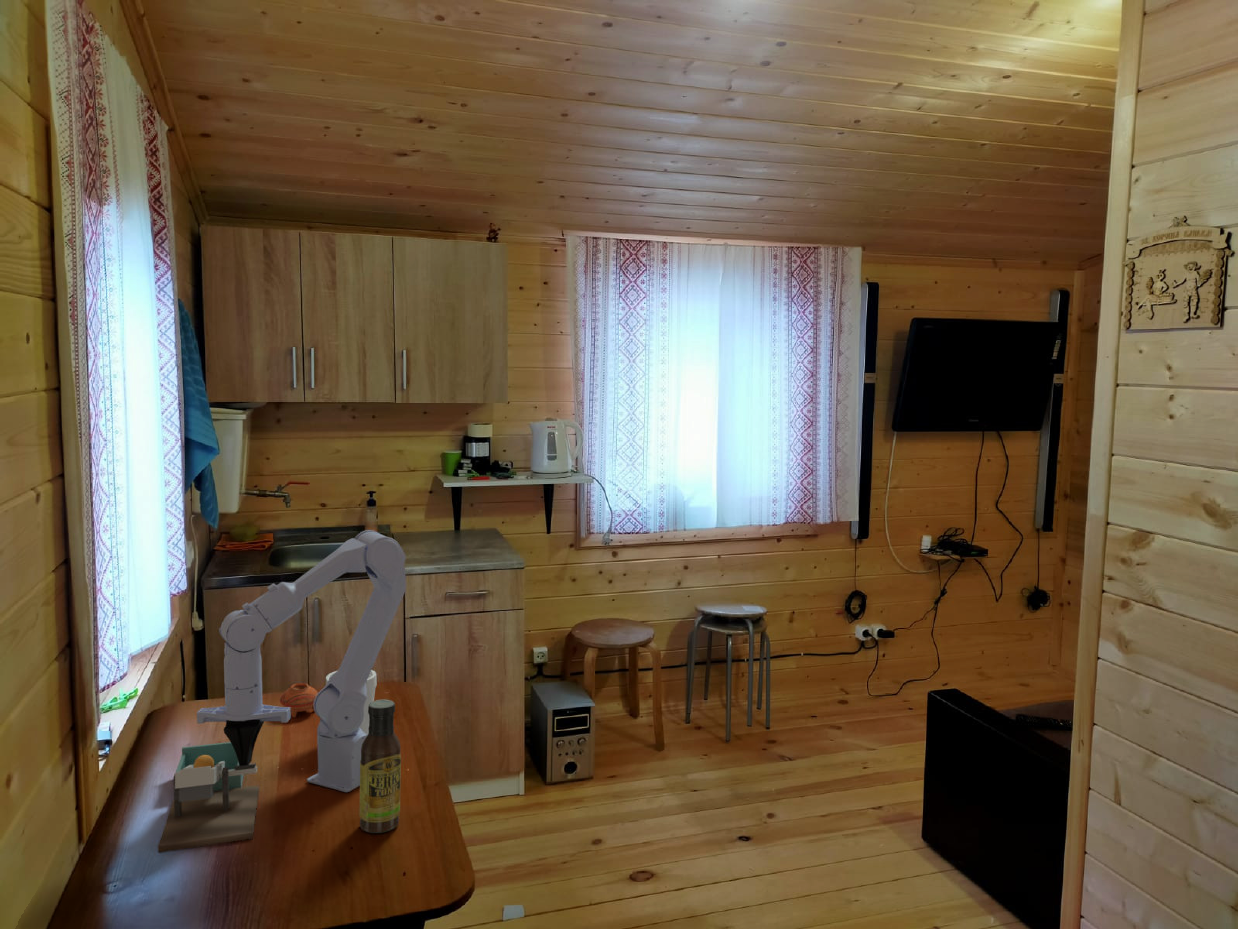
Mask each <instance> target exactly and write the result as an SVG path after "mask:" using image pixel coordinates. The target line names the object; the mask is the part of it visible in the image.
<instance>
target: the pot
mask: <svg viewBox="0 0 1238 929" xmlns="http://www.w3.org/2000/svg"><path fill="white" fill-rule="evenodd" d="M318 693H319V692H318V690H316V689H315V688H314V687H313V686H310V685H309V684H308V683H306V682H299V683H295V684H292V685H290V687H288V688H287V689H286V690H285V691H284V692H283V693H282V695H281V696H280V698H279V703H280V704H281V705H282V707H290V712H291V718H296V717H297V714H298V713H301V712H305V711H308V710H310V709H312V712H313V711H314V700H315V697H316V696H317V694H318ZM313 713H315V711H314V712H313Z"/></svg>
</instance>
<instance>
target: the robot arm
mask: <svg viewBox="0 0 1238 929" xmlns="http://www.w3.org/2000/svg"><path fill="white" fill-rule="evenodd" d="M406 559H407V556H406V554H405V552H404V550H403V548H402V547H401V545H400V544H399V542H398V541H397V540H396V539H394V538H392V537H389V536H386V535H384V534H381V533H380V532H378V531H376V530H372V529H366V530H362V531H360V533H358V534H356V536H355V537H354V538H353V537H352V538H349V539H348V540H346V541H345V542H344V543H342V544H341V545H340V546H339V547H337V548H336V550H334V551H333V552H331V553H330V554H329V555H327V556H326V557H325V558H323V559H322V560H321V561H320V562H319V563H317V564H316V565H314V566H313V567H312V568H310V569H309V570H308V571H306V572H305V573H304V574H302V575H301V576H300V577H299V578H297V579H296V580H295V581H294V582H286V581H281V582H280V583H278V584H275V583H271V584H270V585H268V586H267V587H266V588H267V590H268V591H266V592H265V593H263V594H262V595H260V596H258V597H257V598H256V599H255V600H253V601H252V602H250V603H249V602H245V603H244V604H242V605H241V606H242V609H240V610H234V611H232V612H230V613H228V614H227V615H226V616H225V617H224V619H223V621H222V622H221V625H220V627H219V628H218V630H219V635H220V637H222V639H223V640H224V641H225V642H224V649H223V651H224V652H223V653H224V656H223V658H224V659H223V672H224V674H223V676H224V678H223V679H224V706H223V705H222V706H215V707H202V708H200V709H199V710H198V711H197V712H196V724H201V725H202V724H205V723H222V722H223V723H225V726H224V727H223V733H224V735H225V736H226V737H227V739H228V740H229V742H231V744H232V746H233V748H234V750H235V753H236V755H237V759H238V762H239V766H243V765H249V764H251V763H252V760H253V755H254V754H253V753H254V749H255V745H256V742H257V739H258V737H259V734H260V732H261V730H262V727H263V725H264V723H265V722H280V723H284V724H285V723H288V722H289V720H291V718H292V715H291V712H290V707H284V706H277V705H269V704H263V673H262V672H263V671H262V668H263V667H262V665H263V664H262V654H261V645H262V644H263V642H264V640H265V638H266V634H267V633H270V632H272V631H273V630H274V629H276V628H277V627H278V626H280V625H281V624H283V623H285V622H286V621H287V620H289V619H290V618H291V617H293V616H294V615H295V614H297V613H298V612H300V611H301V610H302V609H303V605H304V602H305V600H306V598H307V597H309V596H312V594H314V593H315V592H317V591H318V590H320V589H322V588H324V587H325V586H327V585H328V584H329V583H331V582H333V581H334V580H336V579H337V578H339V577H341V576H343V575H344V574H347V573H366V574H367V575H368V578H369V580H370V582H371V584H372V586H373V590H372V592H371V594H370V597H369V599H368V601H367V604H366V606H365V608H364V610H363V613H362V615H361V617H360V618H359V619H360V620H359V622H358V624H357V627H356V628H355V631H354V633H353V635H352V638H351V640H350V643H349V644H348V648H347V650H346V652H345V654H344V656H343V659H342V661H341V663H340V666H339V668H338V670H336V671H337V672H336V673H334V674H333V675H332V676H331V677H330V678H329V680H328V683H327V684H326V683H325V686H324V687H323V688H321V689H320V691H319V692H318V694H317V696H316V697H315V700H314V711H315V712H314V713H315V714H316V716H317V717H319V720H320V721H319V724H318V726H317V728H316V731H317V734H316V738H317V773H315V774H314V775H312V776H310V777H308V778H307V779H306V782H308V783H311V784H315V785H318V786H322V787H325V788H329V789H332V790H333V789H334V790H336V791H339V792H344V793H348V792H351V791H352V790H354V789H356V788H358V787H360V761H361V747H362V743H363V742H364V740H365V738H366V737H367V734H365V733H364V732H363V731H362V730H361V728H360V725H361V723H362V721H363V718H364V704H365V701H366V699H367V687H366V682H367V679H368V677H369V674H370V672H371V670H373V667H374V666H375V663H376V661H377V658H378V656H379V654H380V651H381V648H382V646H383V644H384V642H385V639H386V637H387V634H388V632H389V630H390V627H391V625H392V623H393V621H394V618H395V616H396V614H397V612H398V609H399V607H400V604H401V602H402V600H403V597H404V595H405V592H406V590H407V579H406V570H405V567H406V566H405V562H406Z"/></svg>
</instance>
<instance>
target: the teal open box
mask: <svg viewBox="0 0 1238 929" xmlns="http://www.w3.org/2000/svg"><path fill="white" fill-rule="evenodd" d="M202 755H209V756H211V757H212V758H213V760H214V766H215V765H217V764H218V763H219V762H221V761H225V767H228V770H233V769H235V766H236V765H239V762H238V759H237V755H236V753H235V750H234V748H233V746H232V744H231V742H230V741H226V742H219V743H217V742H215V743H207V744H199V745H198V744H197V745H192V746H191V745H190V746H183V747H182V748H181V756H180V759H179V762H178V765H177V768H176V771H175V773H177V772H178V771H180V770H181V769H184V768H185V767H187V766H189V765H193V768H194V762H195V760H196V759H197V758H198V757H200V756H202ZM214 766H213V767H214ZM244 776H245V774H244V775H236V776H229V789H234V788H241V787H243V783H244ZM242 782H243V783H242ZM218 790H222V777H221V778H220V779H219V780H218V781H217V782H216V783H215V784H214V791H218Z"/></svg>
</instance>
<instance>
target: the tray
mask: <svg viewBox="0 0 1238 929" xmlns="http://www.w3.org/2000/svg"><path fill="white" fill-rule="evenodd" d="M223 768H225V761H221V762H219V763H218V764H217V765H215V766H214V767H212V768H211V766H207V767H198V768H193V765H189V766H187V767H185V768H184V769H181V770H180V771H178V772H177V773H176V772H175V773H174V774H175V789H176V788H179V802H182V801H190V800H198V799H206V798H211V797H212V796H213V795H214V784H215V783H216V782H217V781H218V780H219V779H220V778H221V777H222V769H223ZM257 772H258V766H257V764H256V762H254V763H253V762H251V763H249V765H243V766H239V765H236V766H235V769H233V770H228V776H236V775H244V776H245V775H250V774H256V773H257Z"/></svg>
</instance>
